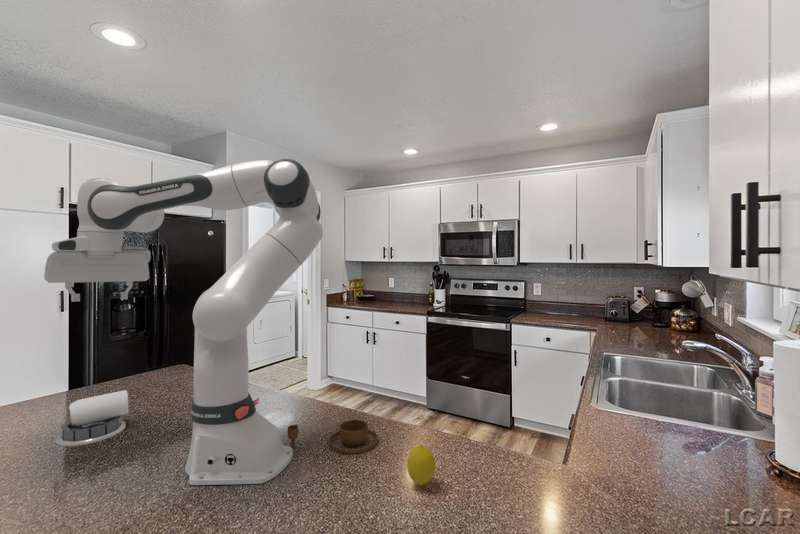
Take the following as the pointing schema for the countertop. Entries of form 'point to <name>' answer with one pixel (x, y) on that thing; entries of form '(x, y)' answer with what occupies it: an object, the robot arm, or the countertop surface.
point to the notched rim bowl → (89, 432)
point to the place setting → (344, 436)
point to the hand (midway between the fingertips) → (100, 300)
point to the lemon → (421, 465)
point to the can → (99, 408)
